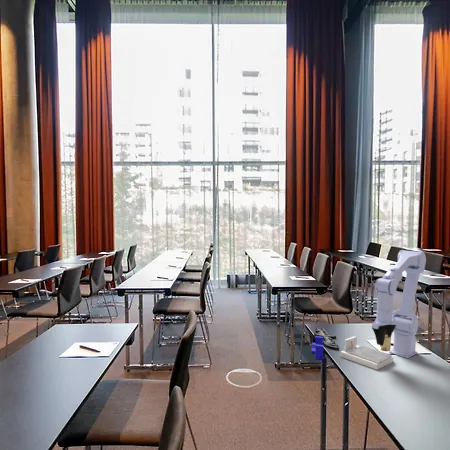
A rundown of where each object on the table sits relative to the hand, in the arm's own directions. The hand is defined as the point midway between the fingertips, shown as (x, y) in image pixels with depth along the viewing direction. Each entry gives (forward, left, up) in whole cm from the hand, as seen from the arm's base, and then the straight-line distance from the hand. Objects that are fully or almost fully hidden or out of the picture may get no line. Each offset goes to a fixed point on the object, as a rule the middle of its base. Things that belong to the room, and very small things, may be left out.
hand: (383, 343), depth 148 cm
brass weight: (0, +1, -2) cm, 2 cm away
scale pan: (0, -5, -6) cm, 8 cm away
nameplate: (-6, -31, -9) cm, 33 cm away
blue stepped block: (+13, -22, -9) cm, 27 cm away
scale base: (0, -7, -8) cm, 11 cm away
